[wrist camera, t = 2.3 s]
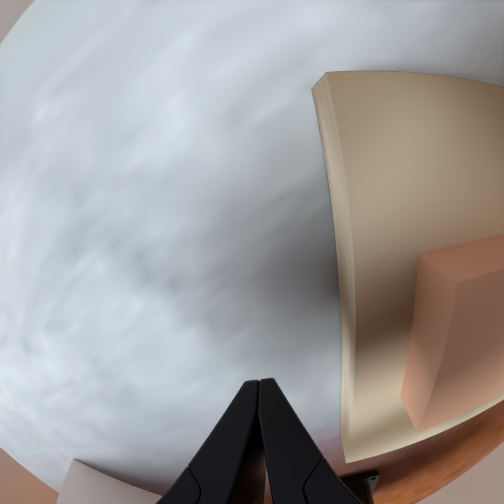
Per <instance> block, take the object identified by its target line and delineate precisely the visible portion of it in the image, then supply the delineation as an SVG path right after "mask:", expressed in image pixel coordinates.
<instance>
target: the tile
mask: <svg viewBox="0 0 504 504" xmlns="http://www.w3.org/2000/svg"><path fill="white" fill-rule="evenodd" d="M502 391H504V234H500V235H496V236H491V237H487V238H483V239H479V240H475V241H471V242H466V243H462V244H458V245H453V246H449V247H444V248H440V249H435V250H431V251H426V252H421V253H418V259H417V281H416V295H415V306H414V316H413V325H412V332H411V339H410V346H409V352H408V358H407V364H406V369H405V374H404V379H403V384H402V389H401V393H400V397H401V399H402V401H403V404H404V406H405V408H406V410H407V412H408V414H409V416H410V419H411V421H412V423H413V425H414V427H415V430H416V432H417V433H418V432H420V431H423V430H425V429H428V428H430V427H433V426H435V425H438V424H440V423H442V422H445V421H447V420H449V419H451V418H453V417H456V416H458V415H460V414H462V413H464V412H466V411H468V410H470V409H472V408H474V407H476V406H478V405H479V404H481V403H483V402H485V401H487V400H489V399H490V398H492V397H494V396H495V395H497V394H499V393H501V392H502Z"/></svg>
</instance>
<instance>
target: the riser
mask: <svg viewBox="0 0 504 504" xmlns="http://www.w3.org/2000/svg"><path fill="white" fill-rule="evenodd" d="M312 94H313V98H314V103H315V108H316V113H317V118H318V123H319V128H320V134H321V139H322V145H323V151H324V157H325V163H326V170H327V176H328V183H329V190H330V198H331V206H332V214H333V223H334V232H335V242H336V253H337V265H338V278H339V293H340V313H341V344H342V393H341V423H340V438H341V442H342V446H343V451H344V455H345V460H346V463H350V462H354V461H358V460H362V459H366V458H370V457H373V456H377V455H380V454H384V453H387V452H390V451H393V450H396V449H399V448H402V447H405V446H408V445H411V444H413V443H416V442H419V441H421V440H424V439H426V438H429V437H431V436H434V435H436V434H438V433H441V432H443V431H445V430H447V429H449V428H452V427H454V426H456V425H458V424H460V423H462V422H464V421H466V420H468V419H470V418H472V417H474V416H476V415H478V414H479V413H481V412H483V411H485V410H487V409H488V408H490V407H492V406H493V405H495V404H497V403H498V402H500V401H502V400H503V399H504V391H502V392H501V393H499V394H497V395H495V396H494V397H492V398H490V399H489V400H487V401H485V402H483V403H481V404H479V405H478V406H476V407H474V408H472V409H470V410H468V411H466V412H464V413H462V414H460V415H458V416H456V417H453V418H451V419H449V420H447V421H445V422H442V423H440V424H438V425H435V426H433V427H430V428H428V429H425V430H423V431H420V432H418V433H417V432H416V430H415V427H414V425H413V423H412V421H411V419H410V416H409V414H408V412H407V410H406V408H405V406H404V404H403V401H402V399H401V397H400V393H401V389H402V384H403V379H404V374H405V369H406V364H407V358H408V352H409V346H410V339H411V332H412V325H413V316H414V306H415V295H416V281H417V259H418V253H421V252H426V251H431V250H435V249H440V248H444V247H449V246H453V245H458V244H462V243H466V242H471V241H475V240H479V239H483V238H487V237H491V236H496V235H500V234H504V87H500V86H496V85H492V84H487V83H483V82H478V81H473V80H467V79H461V78H455V77H448V76H441V75H433V74H423V73H411V72H394V71H337V72H326V73H325V74H324V75H323V76H322V77H321V78H320V80H319V81H318V82H317V83H316V84H315V85H314V87H313V88H312Z"/></svg>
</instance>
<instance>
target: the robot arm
mask: <svg viewBox="0 0 504 504" xmlns="http://www.w3.org/2000/svg"><path fill="white" fill-rule="evenodd" d="M266 467H267V472H268V478H269V484H270V490H271V495H272V501H273V504H374V501H373V496H372V494H373V491H374V489H375V487H376V485H377V483H378V480H379V478H380V475H379V472H378V471H376V472H372V473H368V474H364V475H361V476H357V477H352V478H348V479H344V480H340V478H339V477H338V476H337V474H336V473H335V472H334V470H333V469H332V468H331V466H330V465H329V463H328V462H327V460H326V459H325V458H324V456H323V455H322V453H321V452H320V450H319V449H318V447H317V446H316V444H315V443H314V441H313V439H312V438H311V436H310V435H309V433H308V432H307V430H306V429H305V427H304V426H303V424H302V422H301V421H300V419H299V418H298V416H297V415H296V413H295V411H294V410H293V408H292V407H291V405H290V403H289V402H288V400H287V399H286V397H285V395H284V394H283V392H282V390H281V389H280V387H279V386H278V384H277V382H276V381H275V379H274V378H266V379H261V380H260V381H259V380H249V381H245V382H244V383H243V385H242V386H241V388H240V390H239V391H238V393H237V394H236V396H235V397H234V399H233V400H232V402H231V403H230V405H229V406H228V408H227V410H226V411H225V413H224V414H223V416H222V417H221V419H220V420H219V422H218V423H217V424H216V426H215V427H214V429H213V430H212V432H211V433H210V435H209V436H208V438H207V439H206V440H205V442H204V443H203V445H202V446H201V448H200V449H199V450H198V452H197V453H196V455H195V456H194V457H193V459H192V460H191V462H190V463H189V464H188V467H186V468H185V470H184V471H183V472H182V474H181V475H180V476H179V478H178V479H177V480H176V481H175V483H174V484H173V485H172V486H171V487H170V489H169V490H168V491H167V492H166V493H165V494H164V495H163V496H162V497H161V498H160V499H159V500H158V501H157V502H156V503H155V504H263V502H264V491H265V479H266Z"/></svg>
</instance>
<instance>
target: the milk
mask: <svg viewBox="0 0 504 504" xmlns="http://www.w3.org/2000/svg"><path fill="white" fill-rule="evenodd" d="M161 497H162V496H161V495H158V494H155V493H152V492H149V491H146V490H143V489H140V488H137V487H135V486H132V485H130V484H127V483H124V482H122V481H120V480H117V479H115V478H112V477H110V476H108V475H106V474H103V473H101V472H99V471H97V470H95V469H93V468H91V467H89V466H87V465H85V464H83V463H81V462H79V461H77V460H75V459H73V460H72V462H71V465H70V467H69V470H68V472H67V475H66V478H65V480H64V483H63V486H62V488H61V491H60V494H59V497H58V499H57V502H56V504H155V503H156V502H157V501H158V500H159V499H160V498H161Z"/></svg>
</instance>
